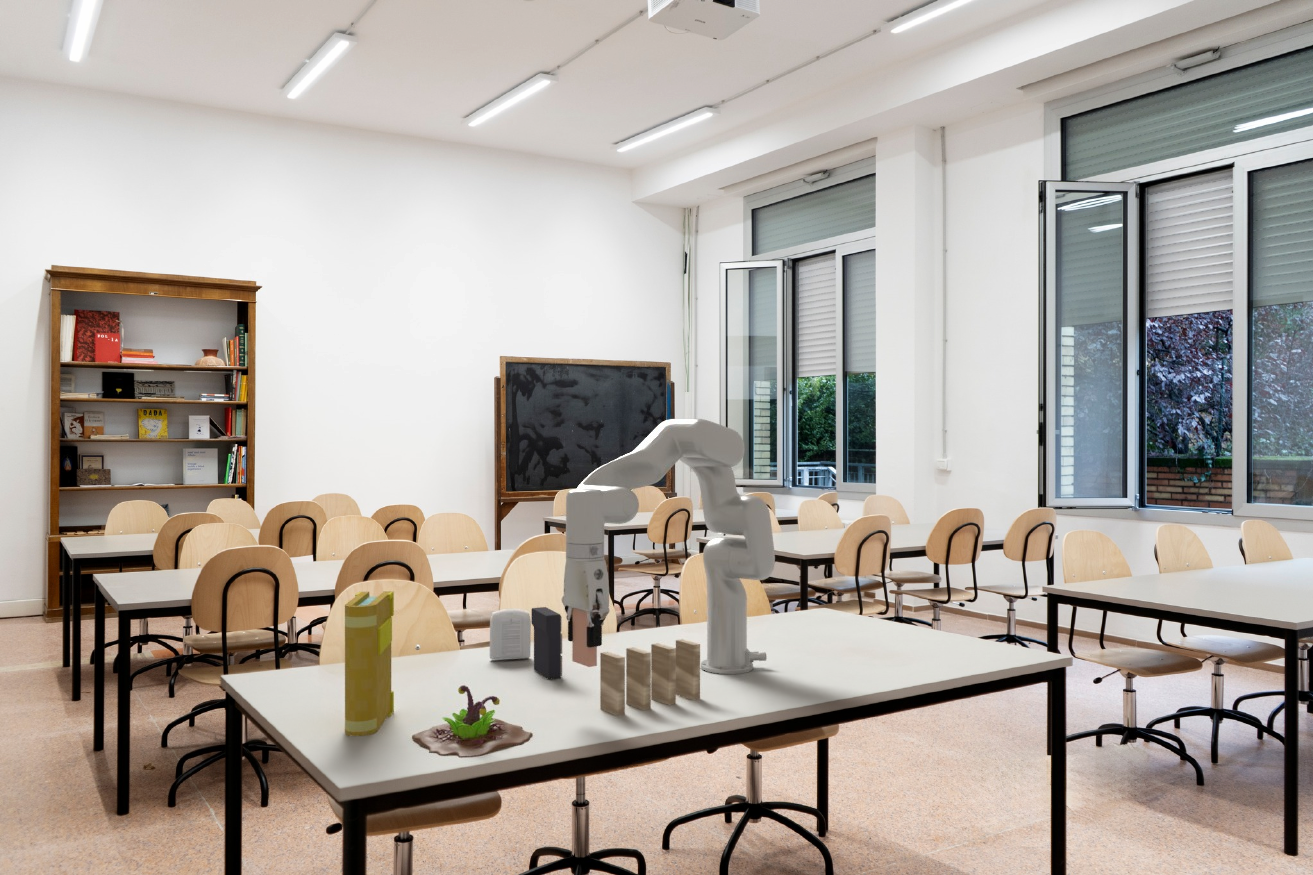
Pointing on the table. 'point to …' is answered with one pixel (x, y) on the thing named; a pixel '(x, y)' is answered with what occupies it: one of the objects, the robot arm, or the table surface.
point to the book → (368, 662)
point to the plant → (472, 732)
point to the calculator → (547, 642)
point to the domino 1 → (582, 640)
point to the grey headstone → (510, 634)
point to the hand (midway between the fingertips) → (584, 642)
